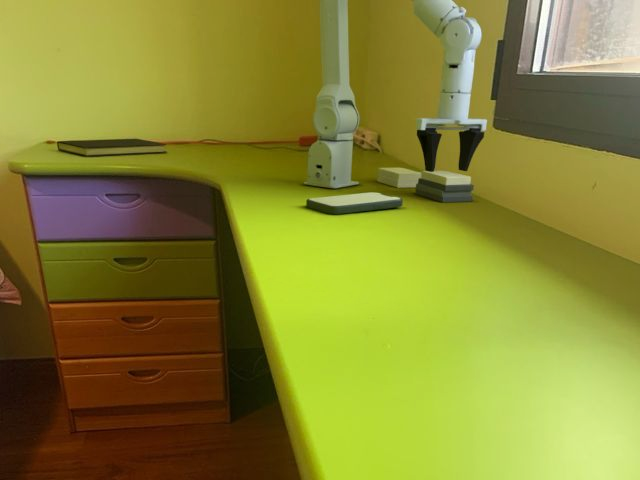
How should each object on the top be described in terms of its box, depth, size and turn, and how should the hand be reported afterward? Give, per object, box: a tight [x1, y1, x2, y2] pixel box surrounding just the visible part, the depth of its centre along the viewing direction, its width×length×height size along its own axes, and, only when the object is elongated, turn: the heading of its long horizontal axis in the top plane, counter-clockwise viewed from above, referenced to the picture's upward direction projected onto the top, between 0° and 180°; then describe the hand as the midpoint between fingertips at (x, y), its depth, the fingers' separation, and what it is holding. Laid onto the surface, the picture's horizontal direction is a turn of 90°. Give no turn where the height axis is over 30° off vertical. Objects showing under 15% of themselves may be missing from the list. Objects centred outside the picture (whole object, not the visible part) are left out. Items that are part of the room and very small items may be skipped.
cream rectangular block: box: [376, 167, 422, 189], centre depth 149 cm, size 9×6×3 cm, turn 24°
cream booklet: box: [420, 170, 472, 185], centre depth 134 cm, size 9×6×1 cm, turn 24°
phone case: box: [305, 191, 404, 215], centre depth 121 cm, size 9×2×16 cm
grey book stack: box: [415, 178, 475, 203], centre depth 135 cm, size 10×7×3 cm
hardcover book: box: [56, 138, 167, 158], centre depth 183 cm, size 16×23×2 cm
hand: (446, 170), depth 133 cm, fingers open, 7 cm apart
